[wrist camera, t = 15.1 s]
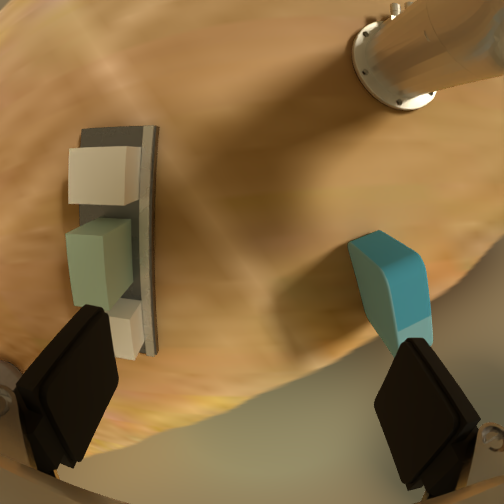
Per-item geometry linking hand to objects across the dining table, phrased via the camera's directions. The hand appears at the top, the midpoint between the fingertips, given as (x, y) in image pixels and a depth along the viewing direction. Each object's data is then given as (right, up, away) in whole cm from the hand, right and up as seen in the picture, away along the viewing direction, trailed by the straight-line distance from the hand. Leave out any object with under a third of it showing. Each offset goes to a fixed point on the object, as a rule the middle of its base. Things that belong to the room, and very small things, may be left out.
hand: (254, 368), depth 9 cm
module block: (-17, +4, +26) cm, 32 cm away
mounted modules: (-17, +4, +26) cm, 32 cm away
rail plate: (-17, +4, +27) cm, 33 cm away
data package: (+16, +1, +30) cm, 33 cm away
